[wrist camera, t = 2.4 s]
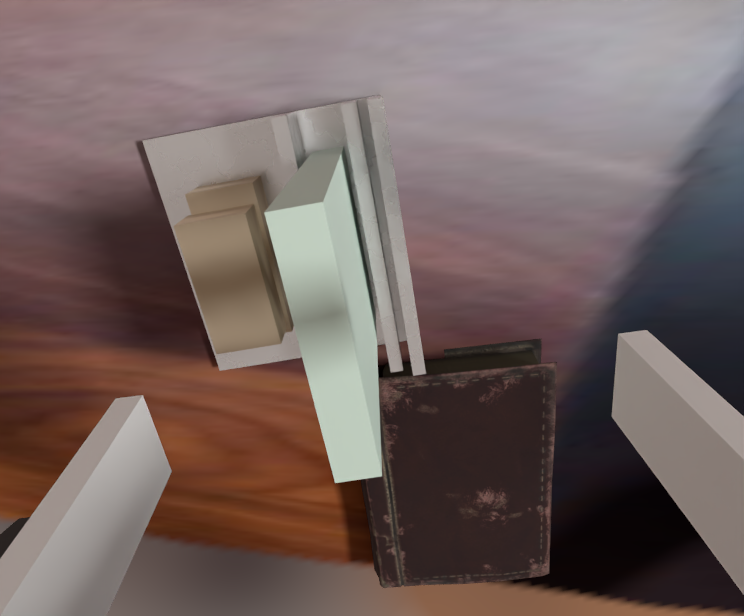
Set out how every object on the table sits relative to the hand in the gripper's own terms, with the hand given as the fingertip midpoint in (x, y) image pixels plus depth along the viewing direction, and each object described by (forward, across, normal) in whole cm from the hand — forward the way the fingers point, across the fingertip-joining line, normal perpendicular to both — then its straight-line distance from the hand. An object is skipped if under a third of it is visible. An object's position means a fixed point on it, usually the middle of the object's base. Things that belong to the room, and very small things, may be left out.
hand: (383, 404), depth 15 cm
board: (+28, +2, +4) cm, 28 cm away
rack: (+29, +6, +4) cm, 30 cm away
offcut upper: (+25, +10, +4) cm, 28 cm away
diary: (+29, -5, +28) cm, 41 cm away
